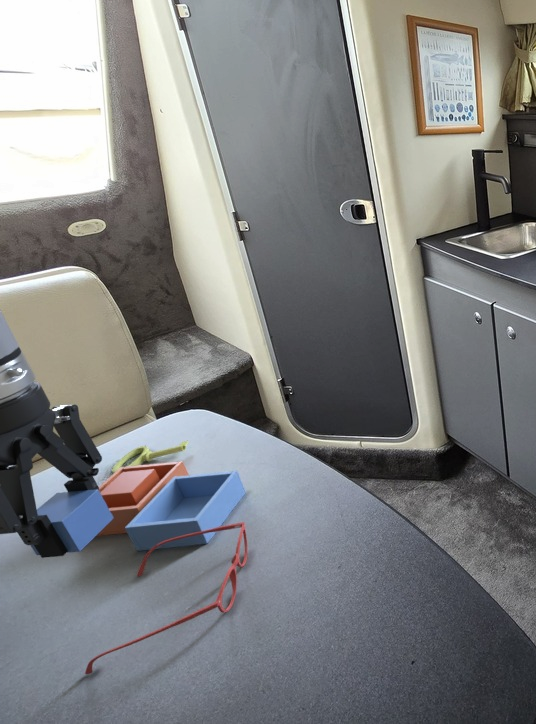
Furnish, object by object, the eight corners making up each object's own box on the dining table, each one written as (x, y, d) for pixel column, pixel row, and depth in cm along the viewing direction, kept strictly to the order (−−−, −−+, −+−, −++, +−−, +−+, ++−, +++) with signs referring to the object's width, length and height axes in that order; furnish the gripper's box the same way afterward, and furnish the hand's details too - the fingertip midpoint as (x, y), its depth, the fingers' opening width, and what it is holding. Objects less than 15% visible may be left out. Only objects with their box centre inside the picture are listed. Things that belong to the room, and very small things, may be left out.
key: (189, 454, 101) (185, 446, 100) (110, 480, 95) (105, 471, 94) (194, 434, 106) (191, 426, 106) (120, 458, 101) (115, 449, 100)
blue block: (36, 555, 66) (16, 525, 64) (74, 521, 71) (56, 492, 69) (79, 551, 66) (61, 521, 64) (114, 518, 71) (98, 489, 69)
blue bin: (137, 551, 80) (124, 527, 78) (183, 498, 90) (173, 476, 88) (207, 543, 80) (196, 520, 79) (246, 492, 91) (237, 470, 89)
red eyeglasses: (230, 633, 67) (218, 608, 65) (80, 686, 62) (62, 661, 60) (260, 533, 82) (251, 510, 80) (141, 568, 77) (128, 545, 75)
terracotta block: (109, 520, 85) (96, 495, 83) (134, 495, 90) (122, 471, 88) (143, 516, 85) (130, 492, 83) (166, 492, 91) (154, 468, 89)
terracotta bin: (80, 537, 83) (66, 515, 81) (131, 487, 93) (120, 466, 91) (148, 530, 83) (136, 508, 81) (192, 482, 93) (182, 461, 92)
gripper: (-62, 444, 52) (39, 596, 60) (93, 353, 69) (155, 481, 77) (-140, 450, 51) (-26, 602, 60) (36, 357, 68) (104, 485, 77)
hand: (76, 534), depth 68 cm, fingers closed on blue block, 5 cm apart
